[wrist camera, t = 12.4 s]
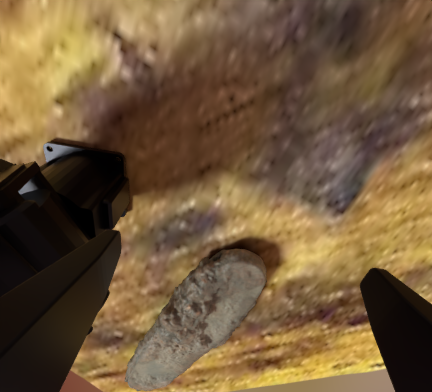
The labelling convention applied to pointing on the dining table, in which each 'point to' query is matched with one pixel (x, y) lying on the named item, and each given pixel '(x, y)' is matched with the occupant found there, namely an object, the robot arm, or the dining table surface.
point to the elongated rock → (197, 317)
